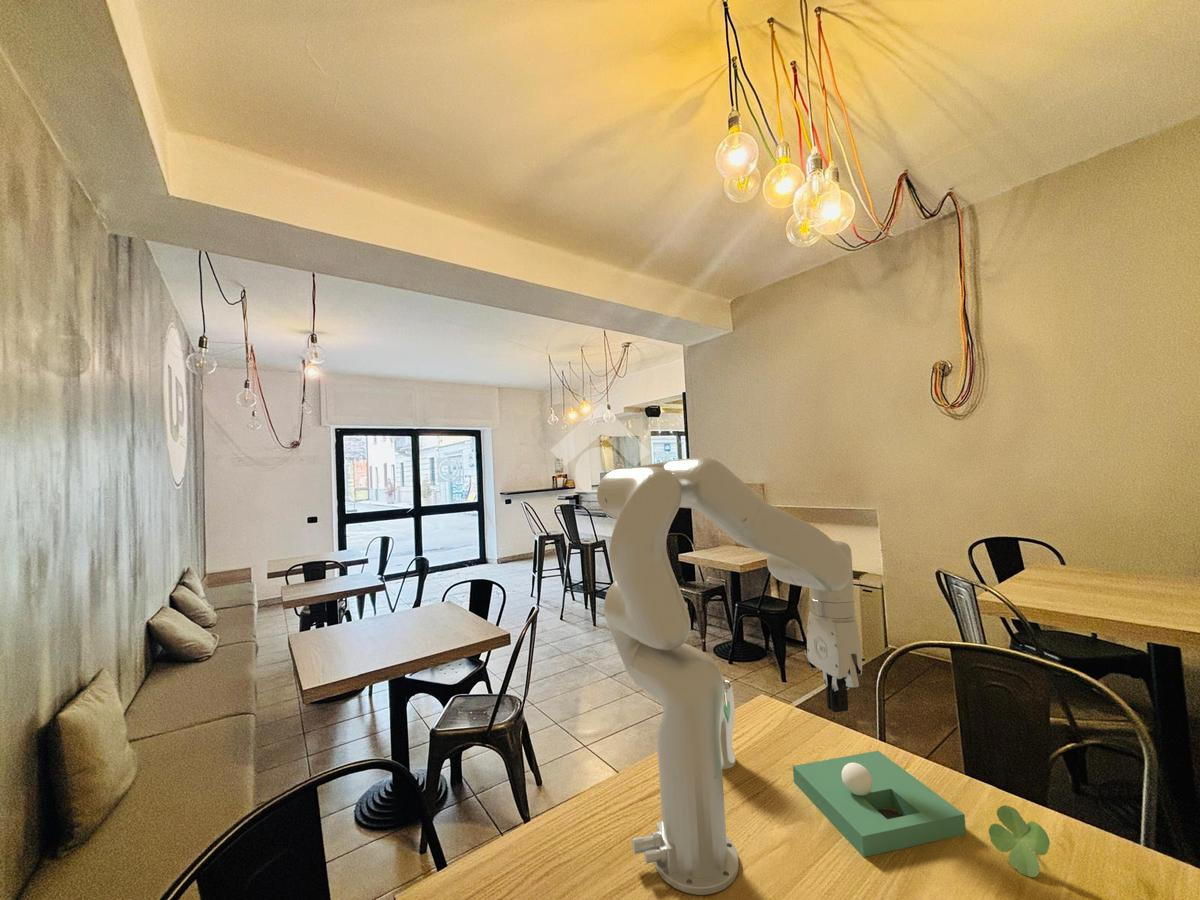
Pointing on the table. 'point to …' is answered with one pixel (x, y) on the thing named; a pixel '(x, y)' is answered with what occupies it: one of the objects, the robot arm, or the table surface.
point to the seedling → (1019, 840)
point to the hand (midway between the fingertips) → (837, 709)
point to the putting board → (879, 805)
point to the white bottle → (727, 726)
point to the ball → (857, 779)
